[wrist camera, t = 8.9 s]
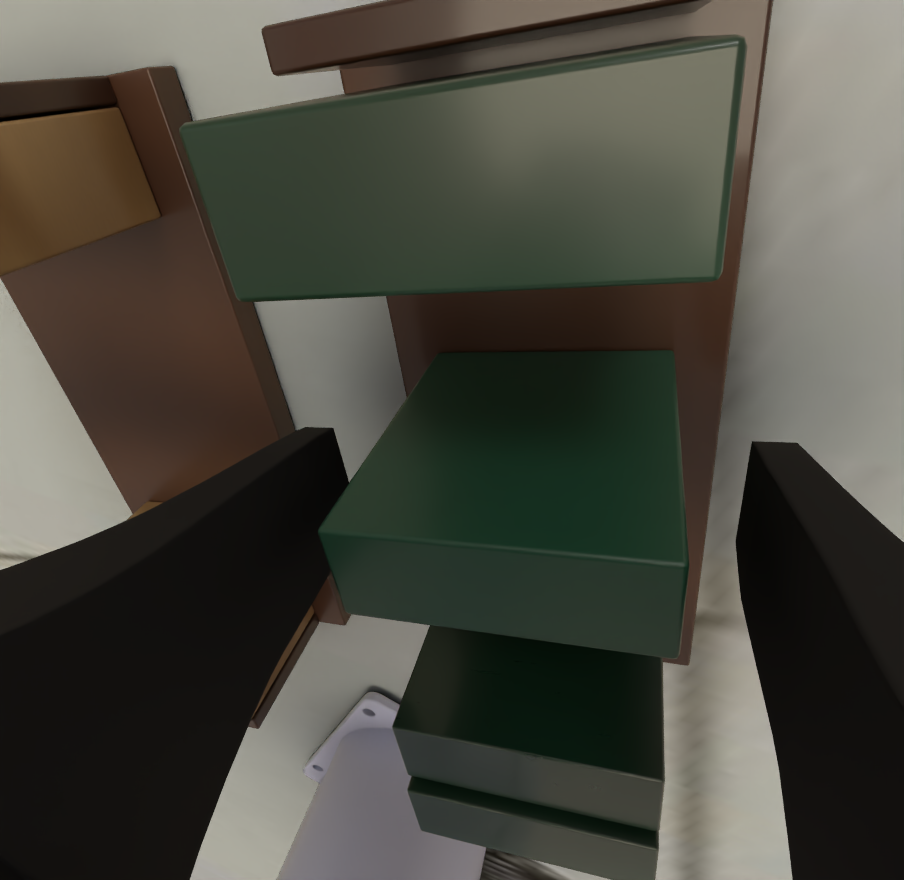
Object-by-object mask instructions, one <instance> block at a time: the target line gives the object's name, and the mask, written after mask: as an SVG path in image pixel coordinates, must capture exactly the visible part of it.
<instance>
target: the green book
mask: <svg viewBox="0 0 904 880" xmlns="http://www.w3.org/2000/svg"><path fill="white" fill-rule="evenodd" d="M318 535H319V538H320V541H321V544H322V547H323V549H324V552H325V555H326V558H327V561H328V564H329V567H330V570H331V572H332V575H333V578H334V581H335V584H336V587H337V590H338V593H339V595H340V598H341V601H342V604H343V607H344V610H345V611H346V612H347V613H349V614H355V615H362V616H369V617H376V618H383V619H390V620H397V621H404V622H411V623H419V624H426V625H433V626H440V627H447V628H454V629H461V630H468V631H476V632H483V633H490V634H497V635H504V636H511V637H518V638H525V639H533V640H540V641H547V642H554V643H561V644H568V645H575V646H582V647H590V648H597V649H604V650H611V651H618V652H625V653H632V654H639V655H646V656H654V657H661V658H668V659H677V658H678V656H679V654H680V648H681V639H682V630H683V621H684V612H685V603H686V594H687V585H688V576H689V567H690V564H689V551H688V537H687V523H686V509H685V495H684V481H683V467H682V454H681V440H680V426H679V412H678V398H677V384H676V370H675V357H674V352H673V351H671V350H650V351H558V352H466V353H438V354H437V355H436V356H435V358H434V359H433V361H432V362H431V364H430V365H429V367H428V368H427V369H426V371H425V372H424V374H423V375H422V377H421V378H420V380H419V381H418V383H417V384H416V386H415V387H414V389H413V390H412V392H411V393H410V394H409V396H408V397H407V399H406V400H405V402H404V403H403V405H402V406H401V408H400V409H399V411H398V412H397V414H396V415H395V417H394V418H393V420H392V421H391V422H390V424H389V425H388V427H387V428H386V430H385V431H384V433H383V434H382V436H381V437H380V439H379V440H378V442H377V443H376V445H375V446H374V447H373V449H372V450H371V452H370V453H369V455H368V456H367V458H366V459H365V461H364V462H363V464H362V465H361V467H360V468H359V470H358V471H357V472H356V474H355V475H354V477H353V478H352V480H351V481H350V483H349V484H348V486H347V487H346V489H345V490H344V492H343V493H342V495H341V496H340V497H339V499H338V500H337V502H336V503H335V505H334V506H333V508H332V509H331V511H330V512H329V514H328V515H327V517H326V518H325V520H324V521H323V522H322V524H321V525H320V527H319V529H318Z"/></svg>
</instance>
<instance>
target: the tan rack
mask: <svg viewBox="0 0 904 880" xmlns="http://www.w3.org/2000/svg"><path fill="white" fill-rule="evenodd" d="M186 122H192V120H191V117H190V114H189V111H188V108H187V105H186V102H185V99H184V96H183V93H182V90H181V87H180V84H179V81H178V78H177V75H176V72H175V69H174V67H172V66H161V67H146V68H141V69H136V70H131V71H126V72H121V73H116V74H111V75H106V76H89V77H75V78H60V79H45V80H31V81H16V82H1V83H0V278H1V280H2V282H3V283H4V285H5V287H6V289H7V290H8V292H9V294H10V296H11V298H12V299H13V301H14V303H15V305H16V307H17V308H18V310H19V312H20V314H21V315H22V317H23V319H24V321H25V323H26V324H27V326H28V328H29V330H30V331H31V333H32V335H33V337H34V339H35V340H36V342H37V344H38V346H39V348H40V349H41V351H42V353H43V355H44V356H45V358H46V360H47V362H48V364H49V365H50V367H51V369H52V371H53V373H54V374H55V376H56V378H57V380H58V381H59V383H60V385H61V387H62V389H63V390H64V392H65V394H66V396H67V397H68V399H69V401H70V403H71V405H72V406H73V408H74V410H75V412H76V414H77V415H78V417H79V419H80V421H81V422H82V424H83V426H84V428H85V430H86V431H87V433H88V435H89V437H90V439H91V440H92V442H93V444H94V446H95V447H96V449H97V451H98V453H99V455H100V456H101V458H102V460H103V462H104V463H105V465H106V467H107V469H108V471H109V472H110V474H111V476H112V478H113V480H114V481H115V483H116V485H117V487H118V488H119V490H120V492H121V494H122V496H123V497H124V499H125V501H126V503H127V505H128V506H129V508H130V510H131V512H132V513H133V515H132V516H131V517H129V518H128V519H127V520H129V519H131V518H133V517H135V516H137V515H139V514H141V513H144V512H146V511H148V510H150V509H152V508H154V507H156V506H157V505H159V504H161V503H163V502H165V501H167V500H169V499H171V498H173V497H175V496H177V495H179V494H180V493H182V492H184V491H186V490H188V489H190V488H192V487H194V486H196V485H198V484H200V483H201V482H203V481H205V480H207V479H209V478H211V477H212V476H214V475H216V474H218V473H220V472H221V471H223V470H225V469H227V468H228V467H230V466H232V465H234V464H236V463H237V462H239V461H241V460H243V459H245V458H246V457H248V456H250V455H252V454H253V453H255V452H257V451H259V450H261V449H262V448H264V447H266V446H268V445H270V444H272V443H273V442H275V441H277V440H279V439H281V438H283V437H285V436H287V435H289V434H291V433H293V432H295V429H294V426H293V423H292V420H291V417H290V414H289V411H288V408H287V405H286V402H285V399H284V396H283V393H282V390H281V387H280V384H279V381H278V378H277V375H276V372H275V369H274V366H273V363H272V360H271V357H270V354H269V351H268V348H267V345H266V342H265V339H264V336H263V333H262V330H261V327H260V324H259V321H258V318H257V315H256V312H255V309H254V306H253V303H252V302H241V301H239V300H238V299H237V298H236V295H235V292H234V290H233V287H232V284H231V281H230V278H229V275H228V272H227V269H226V267H225V264H224V261H223V258H222V255H221V252H220V249H219V246H218V244H217V241H216V238H215V235H214V232H213V229H212V226H211V223H210V221H209V218H208V215H207V212H206V209H205V206H204V203H203V200H202V198H201V195H200V192H199V189H198V186H197V183H196V180H195V177H194V174H193V172H192V169H191V166H190V163H189V160H188V157H187V154H186V151H185V149H184V146H183V143H182V140H181V137H180V134H179V128H180V127H181V126H182V125H183V124H184V123H186ZM127 520H126V521H127ZM350 616H351V614H349V613H347V612H346V611H345V610H344V607H343V604H342V601H341V598H340V595H339V593H338V590H337V587H336V584H335V581H334V578H333V575H332V572H330V574H329V576H328V577H327V579H326V581H325V583H324V584H323V586H322V588H321V590H320V591H319V593H318V595H317V597H316V598H315V600H314V602H313V603H312V605H311V607H310V608H309V610H308V612H307V614H306V615H305V617H304V619H303V620H302V622H301V624H300V625H299V627H298V629H297V631H296V632H295V634H294V636H293V637H292V639H291V641H290V642H289V644H288V646H287V648H286V649H285V651H284V653H283V654H282V656H281V658H280V660H279V662H278V664H277V666H276V668H275V670H274V671H273V673H272V675H271V677H270V679H269V682H268V684H267V686H266V688H265V690H264V693H263V695H262V697H261V699H260V701H259V704H258V706H257V708H256V710H255V712H254V714H253V717H252V719H251V721H250V723H249V725H248V727H252V728H256V729H259V728H260V726H261V724H262V722H263V721H264V719H265V717H266V715H267V713H268V712H269V710H270V708H271V706H272V705H273V703H274V701H275V699H276V698H277V696H278V694H279V692H280V691H281V689H282V687H283V685H284V684H285V682H286V680H287V678H288V677H289V675H290V673H291V671H292V670H293V668H294V666H295V664H296V663H297V661H298V659H299V657H300V655H301V654H302V652H303V650H304V648H305V647H306V645H307V643H308V641H309V640H310V638H311V636H312V634H313V633H314V631H315V629H316V627H317V626H318V624H319V622H325V623H332V624H339V625H346V623H347V621H348V620H349V618H350Z"/></svg>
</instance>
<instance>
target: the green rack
mask: <svg viewBox="0 0 904 880" xmlns="http://www.w3.org/2000/svg"><path fill="white" fill-rule="evenodd" d="M772 5H773V0H385V1H380V2H376V3H371V4H366V5H362V6H357V7H352V8H347V9H343V10H338V11H333V12H328V13H324V14H319V15H314V16H310V17H305V18H300V19H295V20H291V21H286V22H281V23H277V24H272V25H267V26H265V27H264V28H263V29H262V36H263V39H264V43H265V47H266V51H267V55H268V59H269V63H270V67H271V70H272V72H273V74H274V75H276V76H285V75H294V74H304V73H314V72H324V71H334V70H340V74H341V79H342V84H343V89H344V93H345V94H341V95H335V96H330V97H324V98H319V99H313V100H308V101H302V102H297V103H291V104H286V105H280V106H275V107H269V108H264V109H258V110H252V111H247V112H241V113H236V114H230V115H225V116H219V117H214V118H208V119H203V120H197V121H192V122H186V123H184V124H183V125H182V126H181V127H180V128H179V134H180V137H181V140H182V143H183V146H184V149H185V151H186V154H187V157H188V160H189V163H190V166H191V169H192V172H193V174H194V177H195V180H196V183H197V186H198V189H199V192H200V195H201V198H202V200H203V203H204V206H205V209H206V212H207V215H208V218H209V221H210V223H211V226H212V229H213V232H214V235H215V238H216V241H217V244H218V246H219V249H220V252H221V255H222V258H223V261H224V264H225V267H226V269H227V272H228V275H229V278H230V281H231V284H232V287H233V290H234V292H235V295H236V298H237V299H238V300H239V301H241V302H261V301H284V300H307V299H330V298H353V297H376V296H386V298H387V303H388V308H389V313H390V318H391V323H392V327H393V332H394V337H395V342H396V347H397V352H398V357H399V362H400V367H401V371H402V376H403V381H404V386H405V391H406V396H407V397H408V396H409V394H410V393H411V392H412V390H413V389H414V387H415V386H416V384H417V383H418V381H419V380H420V378H421V377H422V375H423V374H424V372H425V371H426V369H427V368H428V367H429V365H430V364H431V362H432V361H433V359H434V358H435V356H436V355H437V354H438V353H466V352H558V351H650V350H671V351H673V352H674V357H675V370H676V384H677V398H678V412H679V426H680V440H681V454H682V467H683V481H684V495H685V509H686V523H687V537H688V551H689V564H690V567H689V576H688V585H687V594H686V603H685V612H684V621H683V630H682V639H681V648H680V654H679V656H678V658H677V659H668V658H661V657H654V656H646V655H639V654H632V653H625V652H618V651H611V650H604V649H597V648H590V647H582V646H575V645H568V644H561V643H554V642H547V641H540V640H533V639H525V638H518V637H511V636H504V635H497V634H490V633H483V632H476V631H468V630H461V629H454V628H447V627H440V626H433V625H430V627H429V630H428V632H427V635H426V638H425V640H424V643H423V646H422V648H421V651H420V653H419V656H418V659H417V661H416V664H415V667H414V669H413V672H412V675H411V677H410V680H409V683H408V685H407V688H406V691H405V693H404V696H403V699H402V701H401V704H400V706H399V709H398V712H397V714H396V717H395V720H394V722H393V725H392V729H393V732H394V735H395V738H396V741H397V744H398V747H399V750H400V753H401V756H402V759H403V762H404V765H405V768H406V771H407V773H408V775H410V776H411V779H410V782H409V785H408V788H407V792H408V795H409V798H410V801H411V803H412V806H413V809H414V812H415V815H416V818H417V821H418V824H419V826H420V829H421V830H422V831H424V832H428V833H432V834H436V835H439V836H443V837H447V838H451V839H455V840H459V841H463V842H467V843H471V844H475V845H479V846H482V847H486V848H490V849H494V850H498V851H502V852H506V853H510V854H514V855H518V856H521V857H525V858H529V859H533V860H537V861H541V862H545V863H549V864H553V865H557V866H561V867H564V868H568V869H572V870H576V871H580V872H584V873H588V874H592V875H596V876H600V877H603V878H607V879H611V880H655V877H656V869H657V860H658V851H659V829H660V820H661V811H662V802H663V792H664V783H665V767H664V711H663V662H666V663H673V664H680V665H689V663H690V655H691V647H692V639H693V631H694V624H695V616H696V608H697V600H698V592H699V584H700V576H701V568H702V560H703V552H704V544H705V536H706V528H707V520H708V512H709V505H710V497H711V489H712V481H713V473H714V465H715V457H716V449H717V441H718V433H719V425H720V417H721V409H722V401H723V394H724V386H725V378H726V370H727V362H728V354H729V346H730V338H731V330H732V322H733V314H734V306H735V298H736V290H737V283H738V275H739V267H740V259H741V251H742V243H743V235H744V227H745V219H746V211H747V203H748V195H749V187H750V179H751V171H752V164H753V156H754V148H755V140H756V132H757V124H758V116H759V108H760V100H761V92H762V84H763V76H764V68H765V60H766V53H767V45H768V37H769V29H770V21H771V13H772Z"/></svg>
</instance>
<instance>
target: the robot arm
mask: <svg viewBox="0 0 904 880" xmlns="http://www.w3.org/2000/svg"><path fill="white" fill-rule="evenodd" d="M348 484H349V481H348V477H347V474H346V470H345V467H344V463H343V460H342V456H341V453H340V449H339V446H338V443H337V439H336V436H335V432H334V429H333V428H314V427H305V428H302V429H300V430H298V431H295V432H293V433H291V434H289V435H287V436H285V437H283V438H281V439H279V440H277V441H275V442H273V443H272V444H270V445H268V446H266V447H264V448H262V449H261V450H259V451H257V452H255V453H253V454H252V455H250V456H248V457H246V458H245V459H243V460H241V461H239V462H237V463H236V464H234V465H232V466H230V467H228V468H227V469H225V470H223V471H221V472H220V473H218V474H216V475H214V476H212V477H211V478H209V479H207V480H205V481H203V482H201V483H200V484H198V485H196V486H194V487H192V488H190V489H188V490H186V491H184V492H182V493H180V494H179V495H177V496H175V497H173V498H171V499H169V500H167V501H165V502H163V503H161V504H159V505H157V506H156V507H154V508H152V509H150V510H148V511H146V512H144V513H141V514H139V515H137V516H135V517H133V518H131V519H129V520H127V521H124V522H122V523H120V524H118V525H116V526H113V527H111V528H109V529H106V530H104V531H102V532H99V533H97V534H95V535H93V536H90V537H88V538H85V539H83V540H81V541H78V542H76V543H73V544H70V545H68V546H65V547H62V548H60V549H57V550H54V551H52V552H49V553H46V554H44V555H41V556H38V557H36V558H33V559H30V560H28V561H25V562H22V563H20V564H17V565H14V566H11V567H8V568H5V569H3V570H0V880H190V877H191V874H192V871H193V868H194V865H195V862H196V859H197V856H198V853H199V850H200V847H201V844H202V842H203V839H204V836H205V834H206V831H207V828H208V826H209V823H210V820H211V818H212V815H213V812H214V810H215V807H216V805H217V802H218V799H219V797H220V794H221V791H222V789H223V786H224V783H225V781H226V778H227V776H228V773H229V771H230V769H231V766H232V764H233V761H234V759H235V757H236V754H237V752H238V749H239V747H240V745H241V742H242V740H243V737H244V735H245V733H246V730H247V728H248V725H249V723H250V721H251V719H252V717H253V714H254V712H255V710H256V708H257V706H258V704H259V701H260V699H261V697H262V695H263V693H264V690H265V688H266V686H267V684H268V682H269V679H270V677H271V675H272V673H273V671H274V670H275V668H276V666H277V664H278V662H279V660H280V658H281V656H282V654H283V653H284V651H285V649H286V648H287V646H288V644H289V642H290V641H291V639H292V637H293V636H294V634H295V632H296V631H297V629H298V627H299V625H300V624H301V622H302V620H303V619H304V617H305V615H306V614H307V612H308V610H309V608H310V607H311V605H312V603H313V602H314V600H315V598H316V597H317V595H318V593H319V591H320V590H321V588H322V586H323V584H324V583H325V581H326V579H327V577H328V576H329V574H330V572H331V570H330V567H329V564H328V561H327V558H326V555H325V552H324V549H323V547H322V544H321V541H320V538H319V535H318V529H319V527H320V525H321V524H322V522H323V521H324V520H325V518H326V517H327V515H328V514H329V512H330V511H331V509H332V508H333V506H334V505H335V503H336V502H337V500H338V499H339V497H340V496H341V495H342V493H343V492H344V490H345V489H346V487H347V486H348ZM736 552H737V563H738V574H739V584H740V593H741V601H742V605H743V610H744V614H745V619H746V623H747V627H748V632H749V636H750V640H751V645H752V649H753V653H754V658H755V662H756V666H757V670H758V675H759V679H760V683H761V687H762V692H763V696H764V700H765V705H766V709H767V713H768V717H769V722H770V726H771V730H772V734H773V740H774V745H775V750H776V755H777V761H778V766H779V773H780V780H781V788H782V796H783V804H784V811H785V819H786V827H787V835H788V843H789V851H790V860H791V869H792V877H793V880H904V542H903V541H901V540H900V539H899V538H898V537H897V536H895V535H894V534H893V533H892V532H891V531H890V530H889V529H888V528H886V527H885V526H884V525H883V524H882V523H881V522H880V521H879V520H877V519H876V518H875V517H874V516H873V515H872V514H871V513H870V512H869V511H868V510H866V509H865V508H864V507H863V506H862V505H861V504H860V503H859V502H858V501H857V500H856V499H855V498H854V497H852V496H851V495H850V494H849V493H848V492H847V491H846V490H845V489H844V488H843V487H842V486H841V485H840V484H839V483H838V482H837V481H836V480H835V479H834V478H833V477H832V476H831V475H830V474H829V473H828V472H827V471H826V470H825V469H824V468H823V467H821V466H820V465H819V464H818V463H817V462H816V461H815V460H814V459H813V458H812V457H811V456H810V455H809V454H808V453H807V452H806V451H805V450H804V449H803V448H802V447H801V446H800V445H799V444H798V443H785V442H754V441H752V444H751V450H750V456H749V462H748V469H747V475H746V481H745V487H744V493H743V499H742V505H741V512H740V518H739V524H738V530H737V536H736ZM399 706H400V705H399V704H398V703H396V702H394V701H392V700H390V699H389V698H387V697H385V696H383V695H381V694H379V693H377V692H368V693H366V694H365V695H364V697H363V698H362V699H361V700H360V701H359V702H358V703H357V705H356V706H355V707H354V708H353V709H352V710H351V712H350V713H349V714H348V715H347V716H346V717H345V719H344V720H343V721H342V722H341V723H340V724H339V726H338V727H337V728H336V729H335V730H334V731H333V732H332V734H331V735H330V736H329V737H328V738H327V739H326V741H325V742H324V743H323V744H322V745H321V746H320V748H319V749H318V750H317V751H316V752H315V753H314V755H313V756H312V757H311V758H310V759H309V760H308V762H307V763H306V765H305V767H304V769H303V772H304V774H305V775H306V776H307V777H309V778H311V779H313V780H314V781H316V782H318V783H319V785H318V787H317V790H316V792H315V794H314V796H313V799H312V801H311V803H310V805H309V808H308V810H307V812H306V814H305V817H304V819H303V821H302V823H301V825H300V828H299V830H298V832H297V834H296V837H295V839H294V841H293V843H292V846H291V848H290V850H289V852H288V855H287V857H286V859H285V861H284V864H283V866H282V868H281V870H280V872H279V875H278V877H277V879H276V880H480V875H481V870H482V865H483V860H484V855H485V850H486V847H482V846H479V845H475V844H471V843H467V842H463V841H459V840H455V839H451V838H447V837H443V836H439V835H436V834H432V833H428V832H424V831H422V830H421V829H420V826H419V824H418V821H417V818H416V815H415V812H414V809H413V806H412V803H411V801H410V798H409V795H408V792H407V788H408V785H409V782H410V779H411V776H410V775H408V773H407V771H406V768H405V765H404V762H403V759H402V756H401V753H400V750H399V747H398V744H397V741H396V738H395V735H394V732H393V729H392V725H393V722H394V720H395V717H396V714H397V712H398V709H399Z"/></svg>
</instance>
